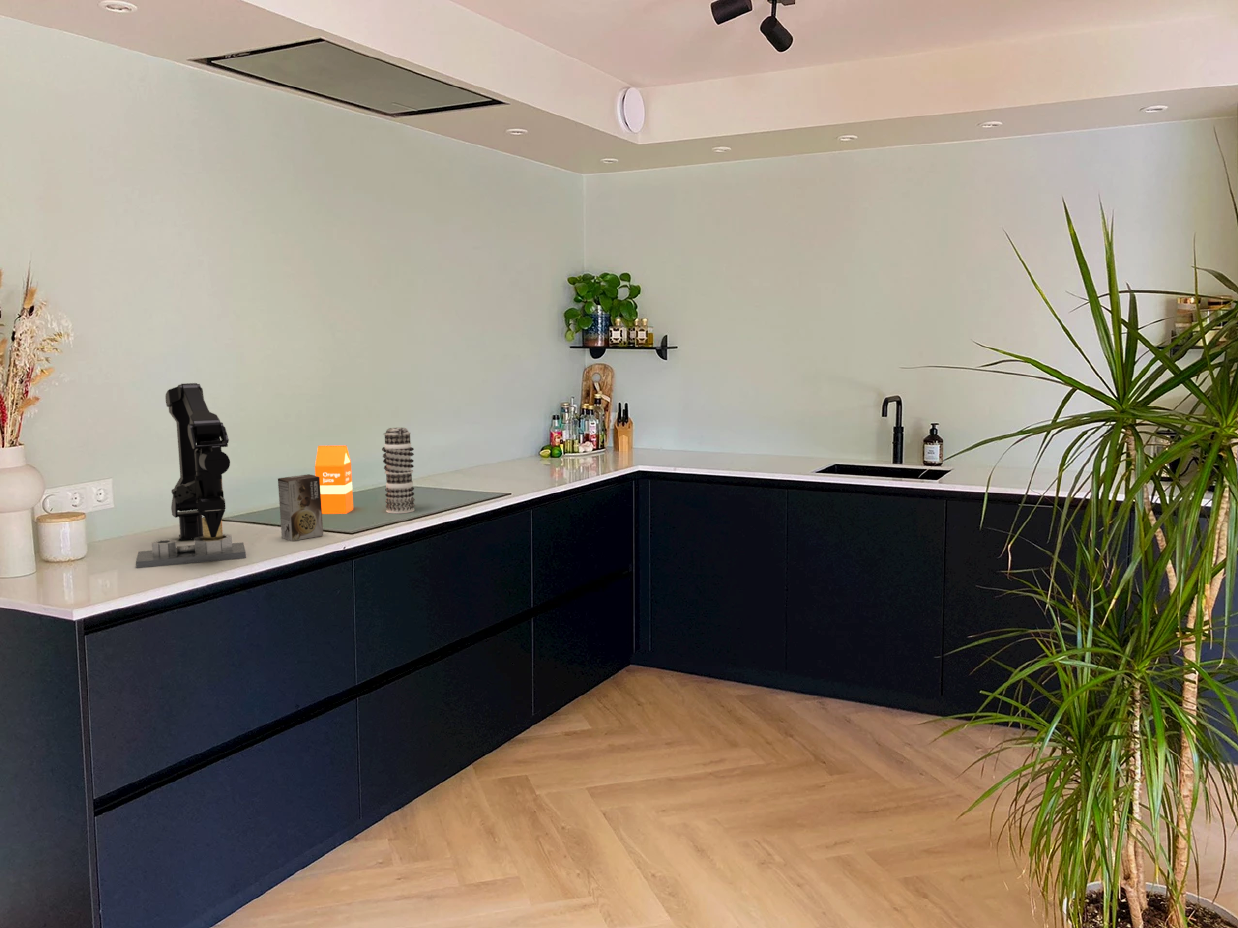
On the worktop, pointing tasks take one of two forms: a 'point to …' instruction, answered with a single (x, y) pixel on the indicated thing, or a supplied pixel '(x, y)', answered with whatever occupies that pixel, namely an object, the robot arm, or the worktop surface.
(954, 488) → the worktop surface
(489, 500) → the worktop surface
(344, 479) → the orange juice
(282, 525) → the coffee box
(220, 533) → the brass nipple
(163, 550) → the manifold
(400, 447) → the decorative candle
